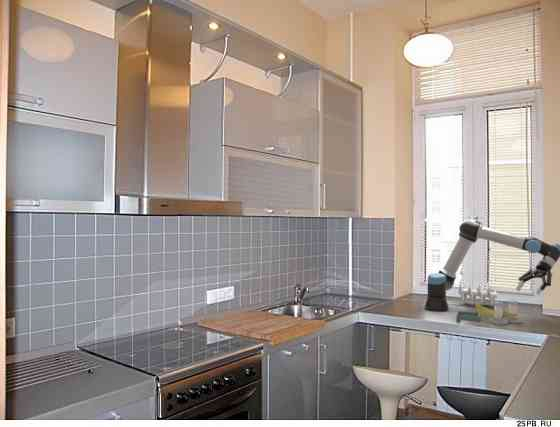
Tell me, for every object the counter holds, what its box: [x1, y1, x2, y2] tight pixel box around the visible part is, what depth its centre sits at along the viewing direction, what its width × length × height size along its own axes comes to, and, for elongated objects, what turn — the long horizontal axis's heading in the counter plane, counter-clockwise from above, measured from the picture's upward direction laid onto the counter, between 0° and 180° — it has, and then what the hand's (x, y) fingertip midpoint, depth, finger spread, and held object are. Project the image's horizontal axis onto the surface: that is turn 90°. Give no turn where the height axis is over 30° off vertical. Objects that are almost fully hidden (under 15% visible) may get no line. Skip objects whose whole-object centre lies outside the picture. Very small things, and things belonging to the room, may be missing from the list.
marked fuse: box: [507, 299, 519, 320], centre depth 263 cm, size 5×5×12 cm
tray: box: [456, 310, 480, 323], centre depth 272 cm, size 12×12×4 cm
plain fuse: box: [493, 300, 504, 321], centre depth 259 cm, size 5×5×12 cm
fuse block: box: [486, 317, 524, 327], centre depth 261 cm, size 20×9×4 cm, turn 111°
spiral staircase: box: [457, 278, 498, 308], centre depth 319 cm, size 18×18×25 cm
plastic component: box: [474, 302, 508, 318], centre depth 284 cm, size 20×7×10 cm
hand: (527, 291), depth 267 cm, fingers open, 13 cm apart
